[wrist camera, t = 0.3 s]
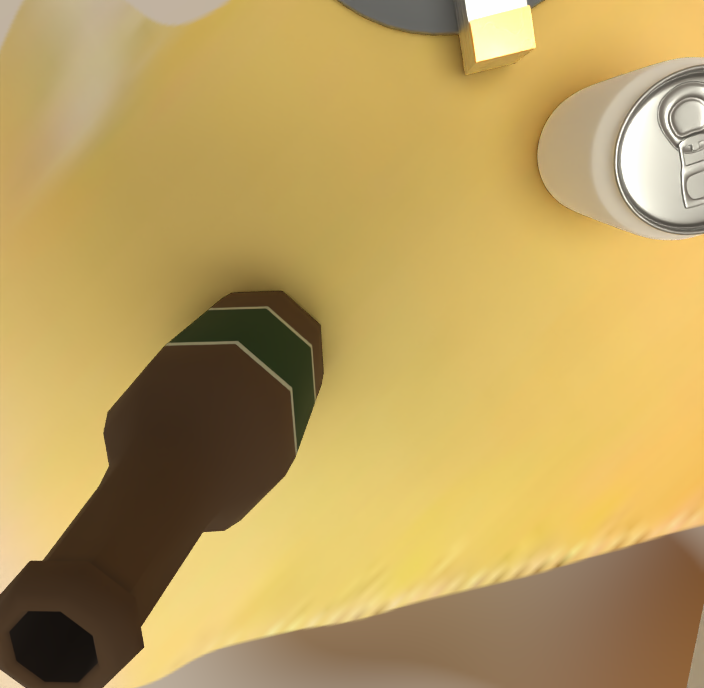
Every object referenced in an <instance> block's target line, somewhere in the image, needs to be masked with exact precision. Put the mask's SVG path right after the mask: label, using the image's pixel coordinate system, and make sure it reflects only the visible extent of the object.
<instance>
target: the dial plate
mask: <svg viewBox="0 0 704 688" xmlns="http://www.w3.org/2000/svg"><path fill="white" fill-rule="evenodd" d="M338 1H339V2H340V3H342V4H343V5H344V6H346V7H347V8H349V9H351V10H352V11H354V12H356V13H357V14H359V15H361V16H362V17H364V18H366V19H369V20H371V21H373V22H376V23H378V24H381V25H383V26H385V27H388V28H392V29H396V30H400V31H404V32H408V33H415V34H425V35H456V34H459V33H458V27H457V21H456V15H455V8H454V2H453V0H338ZM542 1H544V0H526V2H527V6H528V5H530V9H532V8H533V7H535V6H536V5H538V4H539V3H541V2H542Z"/></svg>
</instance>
